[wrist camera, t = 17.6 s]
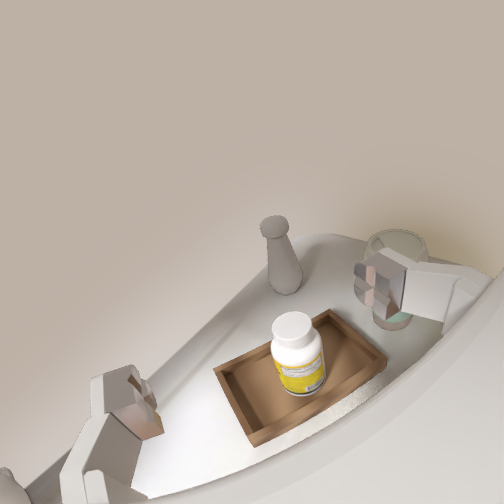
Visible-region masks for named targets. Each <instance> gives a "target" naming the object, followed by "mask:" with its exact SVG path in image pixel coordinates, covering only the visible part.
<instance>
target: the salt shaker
mask: <svg viewBox="0 0 504 504" xmlns="http://www.w3.org/2000/svg"><path fill="white" fill-rule="evenodd" d="M260 229H261V233H262V235H263V237H265V238H267V250H268V279H269V282H270V285H271V286H272V287H273V288H274V290H275V291H276V292H277V293H280V294H283V295H288V294H292V293H295V292H296V291H297V289H298V288H299V286H300V284H301V281H302V277H303V272H302V270H301V267H300V265H299V262H298V260H297V258H296V255H295V253H294V250H293V248H292V246H291V243H290V241H289V239H288V236H287V234H286V233H287V232H288V230H289V225H288V222H287V220H286V219H285V217H282V216H270V217H268V218H266V219H264V220H263V221H262V223H261V224H260Z"/></svg>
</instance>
